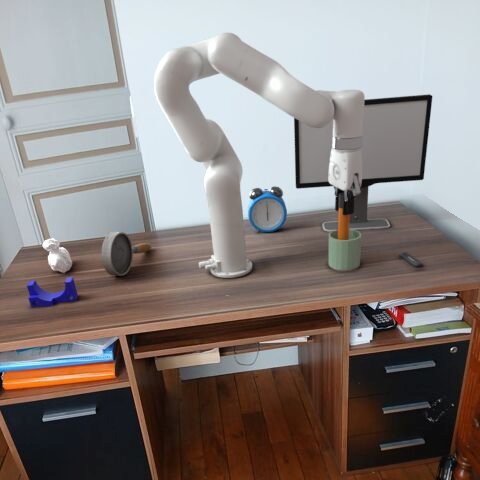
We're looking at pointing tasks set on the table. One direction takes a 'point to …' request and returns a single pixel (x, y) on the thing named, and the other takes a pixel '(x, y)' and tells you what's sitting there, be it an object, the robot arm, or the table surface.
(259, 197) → the alarm clock
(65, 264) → the bust
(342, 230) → the marker
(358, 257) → the pen holder
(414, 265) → the usb stick
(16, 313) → the table surface
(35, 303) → the blue cradle stand
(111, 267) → the frying pan
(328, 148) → the computer monitor
